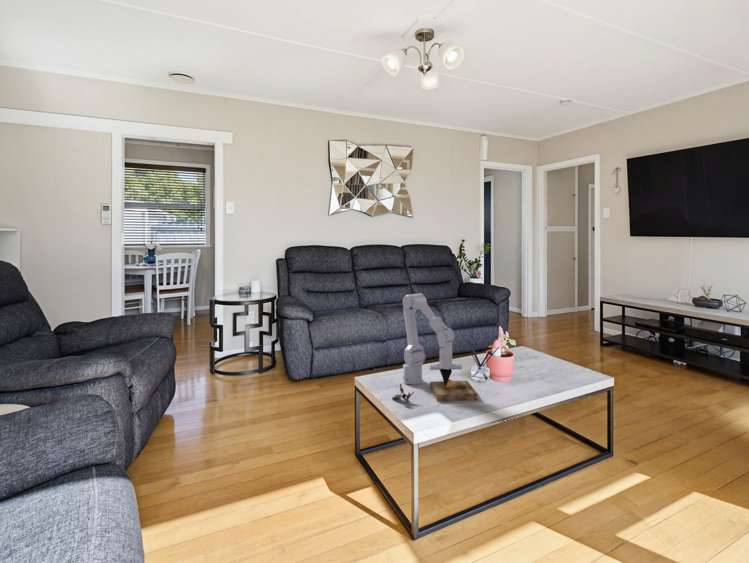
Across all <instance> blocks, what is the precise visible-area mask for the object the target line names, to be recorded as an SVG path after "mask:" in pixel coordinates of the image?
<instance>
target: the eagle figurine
mask: <svg viewBox="0 0 749 563" xmlns="http://www.w3.org/2000/svg"><path fill="white" fill-rule="evenodd" d="M402 386H403V385H402V383H400V384H399V391H400V394H395V395H394V396H392V398H391V399H395V400H399V399H404V400H405V402H406V403H408V401H409V400H410V398H411V396H412V395H414V391H412V392H408V394H406V393H405V391H404V390H405V389H404V388H403V387H402Z"/></svg>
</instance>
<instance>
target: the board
mask: <svg viewBox="0 0 749 563" xmlns="http://www.w3.org/2000/svg"><path fill="white" fill-rule="evenodd" d="M452 381H453V386H452V387H451V388H447V387H446V386H445V385H444V381H443V380H442V381H440V380H439V381H430V382H429V389H430V390H432V391H431V393H432V392H433V393H432V395H433V394H434V395H433V396H434V398H435V400H436V402H455V401H456V402H460V401H461V402H462V401H478V393H477V391H476V390H475V389H474V387H473V386H472V384H470V382H469V381H468V380H452Z"/></svg>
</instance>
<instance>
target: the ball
mask: <svg viewBox="0 0 749 563" xmlns="http://www.w3.org/2000/svg"><path fill="white" fill-rule="evenodd" d="M453 381H454V380H452V379H451V378H449V379H448V382H447V385H446V387H447V388H451V387H452V386H453Z"/></svg>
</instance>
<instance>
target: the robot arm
mask: <svg viewBox="0 0 749 563" xmlns="http://www.w3.org/2000/svg"><path fill="white" fill-rule="evenodd" d="M402 307H403V308H402V309H403V315H404V316H403V317H404V322H405V324H404V325H405V331H406V338H407V345H406V347H405V348H404V354H403V358H404V364H403V365H402V372H403V373H402V380H403V383H404V384H405V385H417V384H418V385H420V384H421V385H423V384H425V382H424V380H423V364H424V362H425V360H426V353H425V351H424V346H422V345H421V344H420V342H419V334H418V333H419V332H418V327H417V321H416V312H417V310H420V312H422V314H423V315H424V316H425V317H426V319H428V320H429V322H428V323H429V326H430V327H431V329H432V330H433V331H434V333H435V334H436V340H437V342H438V347H439V359H438V360H439V363H437V364H430V365H429V371H438V370H439V372H440V374H441V377H442V381H444V385H445V386H446V385H447V382H448V379H450V376H451V375H452V372H453V370H460V371H462V370H463V365H462V363H461V364H460V363H459V364H458V363H453V341H454V340H455V338H456V333H455V331H454V330H453V329H452V328H450V327H448V326H447V325H446V324H445V322H443V320H442V318H441V317H439V316H436V314H435V313H434V312H433V310H432V308H431V307H430V306H429V304H428V302H427V298H426V296H425V295H424V293H422V292H419V293H413V294H406V295H405V296H404V297H403V298H402Z"/></svg>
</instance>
